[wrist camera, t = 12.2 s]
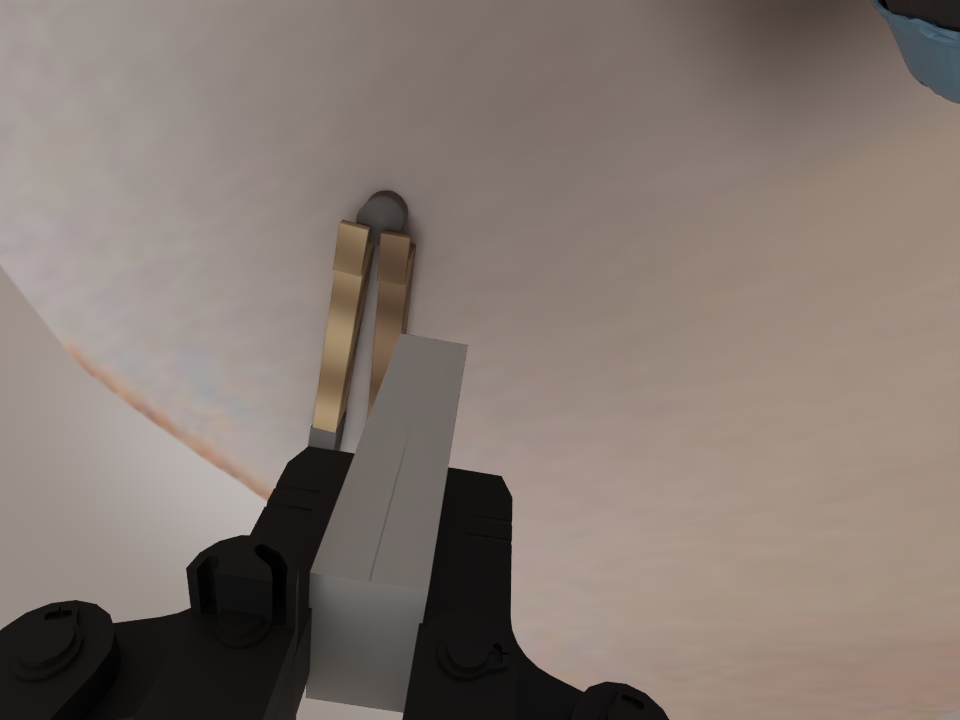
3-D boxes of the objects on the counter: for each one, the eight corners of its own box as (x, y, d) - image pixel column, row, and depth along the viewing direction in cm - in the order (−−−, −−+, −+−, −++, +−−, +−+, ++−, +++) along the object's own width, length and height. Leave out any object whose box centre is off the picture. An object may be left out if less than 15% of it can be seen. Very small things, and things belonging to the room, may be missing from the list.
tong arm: (352, 206, 40) (338, 222, 37) (381, 214, 41) (369, 230, 37) (315, 452, 51) (301, 481, 48) (338, 457, 51) (326, 486, 48)
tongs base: (367, 187, 40) (353, 202, 37) (422, 197, 40) (413, 213, 37) (349, 458, 52) (337, 489, 48) (391, 465, 52) (382, 497, 48)
